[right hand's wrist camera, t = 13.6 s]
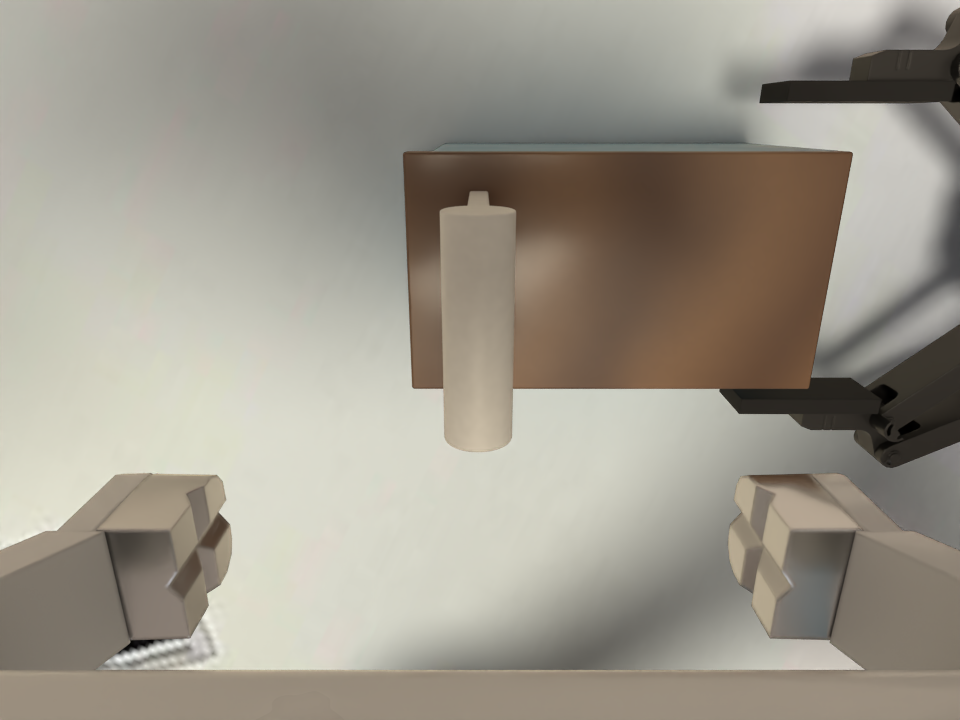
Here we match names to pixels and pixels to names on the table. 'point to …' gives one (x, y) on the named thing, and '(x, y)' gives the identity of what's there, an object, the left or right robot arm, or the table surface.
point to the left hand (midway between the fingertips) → (749, 255)
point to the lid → (614, 273)
